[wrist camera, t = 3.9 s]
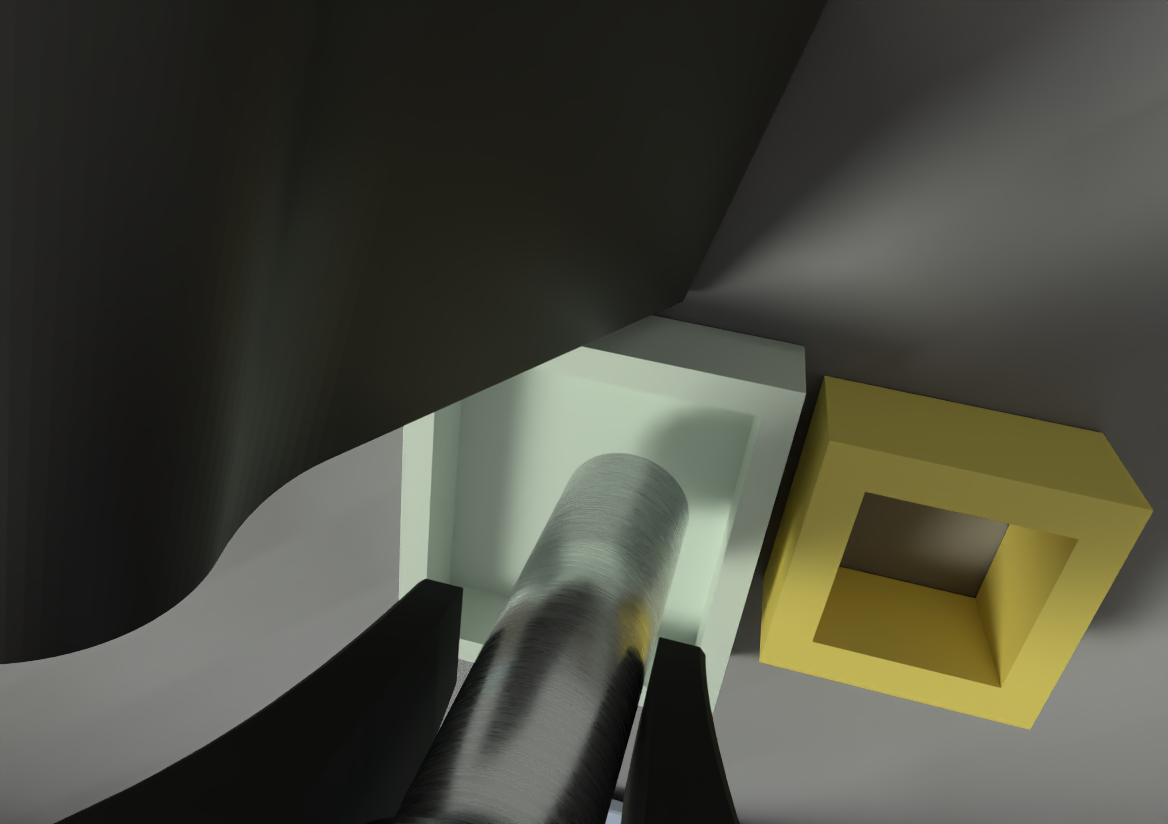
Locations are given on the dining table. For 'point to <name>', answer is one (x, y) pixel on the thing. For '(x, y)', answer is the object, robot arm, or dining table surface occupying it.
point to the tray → (601, 426)
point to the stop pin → (561, 660)
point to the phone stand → (320, 245)
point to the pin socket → (934, 617)
